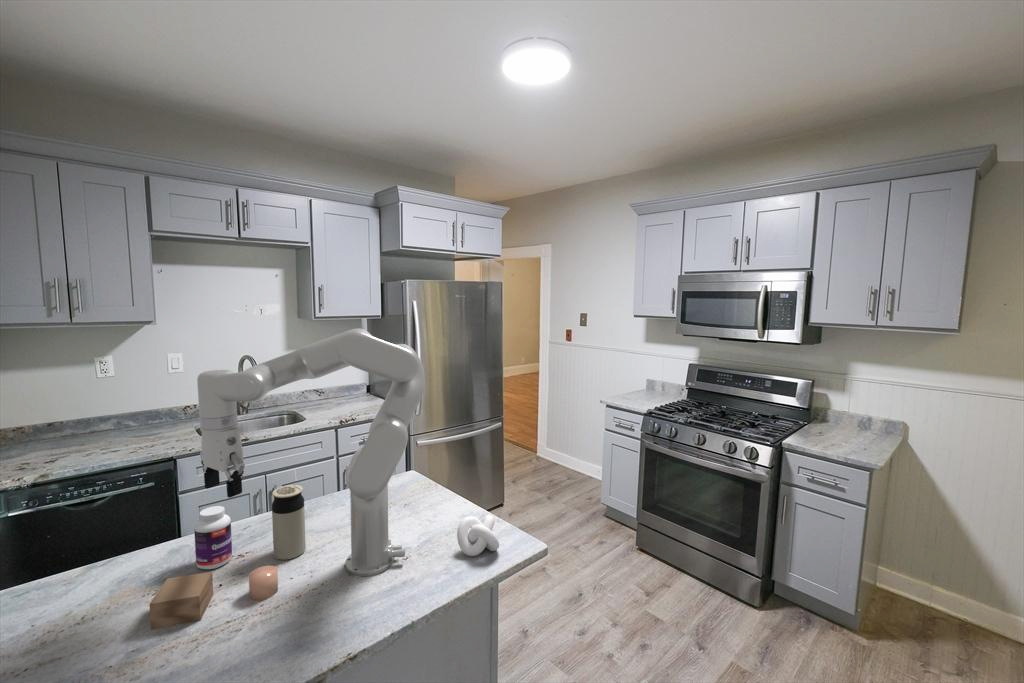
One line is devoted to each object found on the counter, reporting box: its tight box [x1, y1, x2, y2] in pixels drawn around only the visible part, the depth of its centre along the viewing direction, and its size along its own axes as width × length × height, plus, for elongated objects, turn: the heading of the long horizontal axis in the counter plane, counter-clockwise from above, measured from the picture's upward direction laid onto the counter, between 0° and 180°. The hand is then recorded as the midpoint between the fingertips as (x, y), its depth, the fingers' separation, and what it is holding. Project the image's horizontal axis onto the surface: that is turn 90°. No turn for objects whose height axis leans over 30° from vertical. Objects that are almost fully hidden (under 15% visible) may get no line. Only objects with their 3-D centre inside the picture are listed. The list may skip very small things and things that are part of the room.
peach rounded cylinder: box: [248, 565, 279, 602], centre depth 108 cm, size 6×6×5 cm
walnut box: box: [149, 571, 214, 631], centre depth 101 cm, size 9×9×6 cm
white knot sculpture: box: [456, 514, 500, 557], centre depth 127 cm, size 11×12×9 cm
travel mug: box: [271, 484, 307, 560], centre depth 124 cm, size 8×8×18 cm
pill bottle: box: [193, 505, 233, 570], centre depth 119 cm, size 8×8×14 cm
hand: (223, 490), depth 109 cm, fingers open, 9 cm apart
